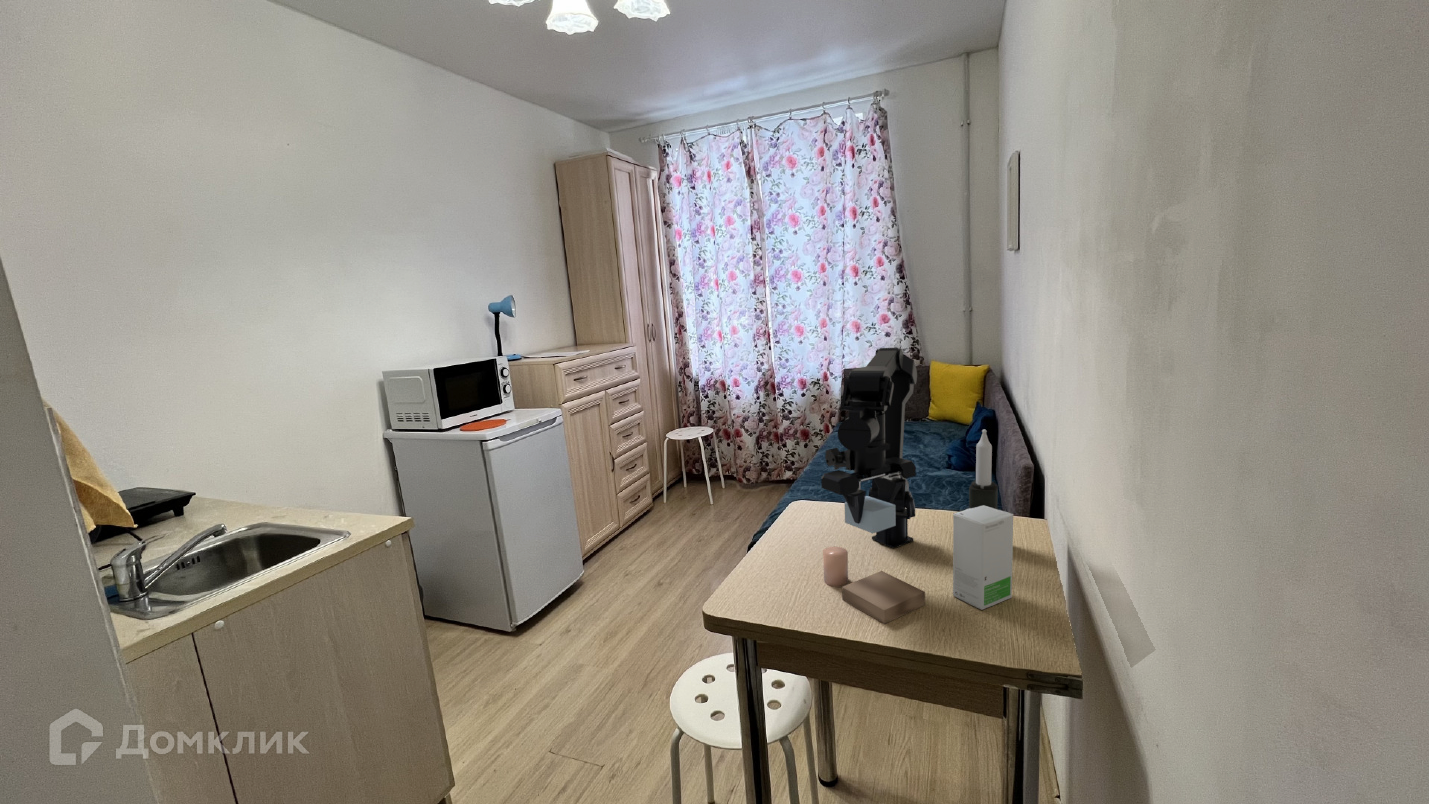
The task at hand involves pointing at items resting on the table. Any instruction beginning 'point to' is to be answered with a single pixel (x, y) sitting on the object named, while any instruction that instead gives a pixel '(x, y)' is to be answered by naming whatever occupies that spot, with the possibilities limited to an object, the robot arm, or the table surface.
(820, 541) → the table surface
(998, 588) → the skincare box
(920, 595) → the base slab
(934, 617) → the table surface
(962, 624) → the table surface
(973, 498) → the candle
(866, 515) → the block
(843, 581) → the peach rounded capsule
